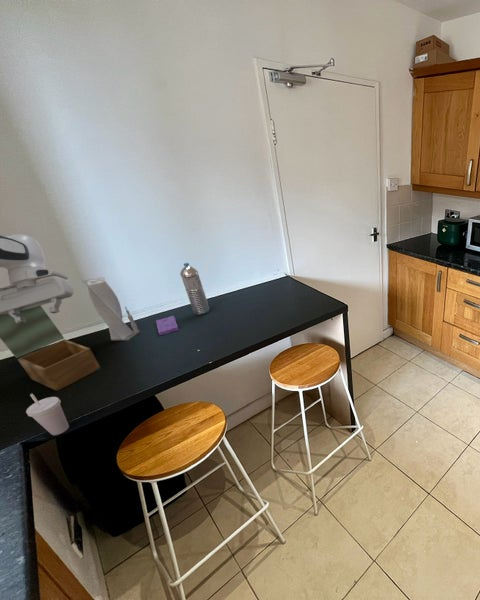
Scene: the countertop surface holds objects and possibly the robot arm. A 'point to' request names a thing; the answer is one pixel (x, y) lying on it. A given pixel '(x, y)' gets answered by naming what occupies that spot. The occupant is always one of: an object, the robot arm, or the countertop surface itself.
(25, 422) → the countertop surface
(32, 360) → the wooden box
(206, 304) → the water bottle
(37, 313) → the lid
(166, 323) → the sponge
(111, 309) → the skyscraper
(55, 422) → the smoothie
